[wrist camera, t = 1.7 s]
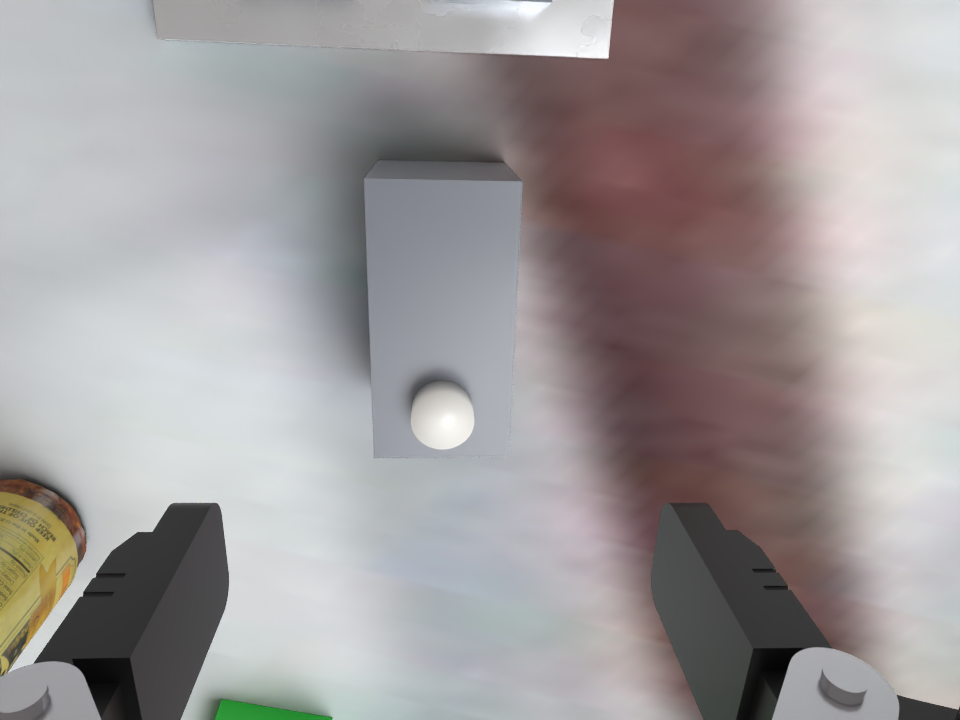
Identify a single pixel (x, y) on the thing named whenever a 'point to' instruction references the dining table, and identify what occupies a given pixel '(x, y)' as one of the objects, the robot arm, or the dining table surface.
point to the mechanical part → (260, 712)
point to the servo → (442, 306)
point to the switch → (398, 25)
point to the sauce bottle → (33, 560)
